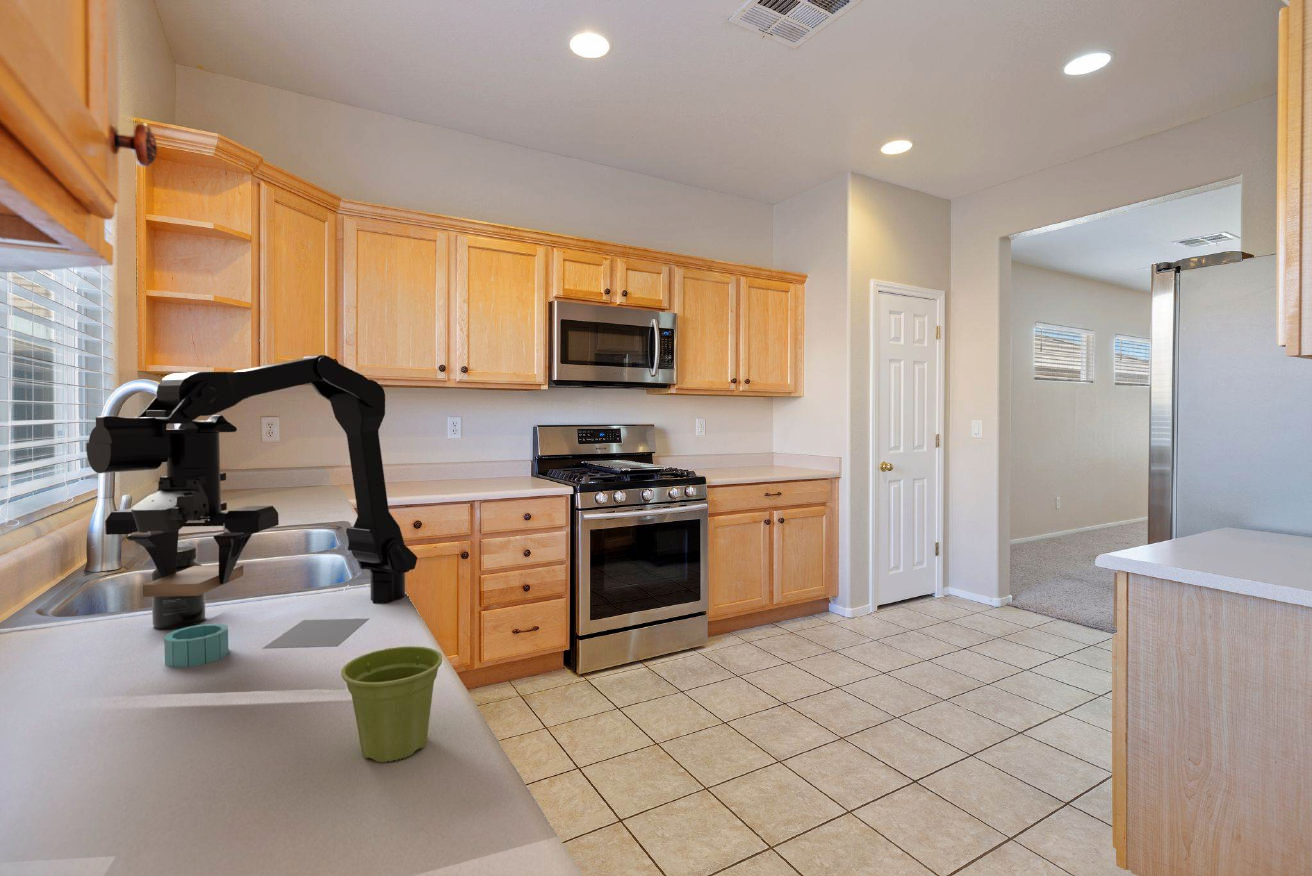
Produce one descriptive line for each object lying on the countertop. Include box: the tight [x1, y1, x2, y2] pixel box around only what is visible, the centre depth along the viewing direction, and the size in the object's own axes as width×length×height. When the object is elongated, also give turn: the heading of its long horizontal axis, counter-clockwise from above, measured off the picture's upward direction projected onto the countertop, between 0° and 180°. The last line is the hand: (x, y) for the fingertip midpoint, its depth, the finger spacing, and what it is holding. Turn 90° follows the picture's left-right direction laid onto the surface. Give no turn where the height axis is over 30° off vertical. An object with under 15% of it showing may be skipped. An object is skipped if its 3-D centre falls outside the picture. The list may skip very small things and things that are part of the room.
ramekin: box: [163, 623, 229, 668], centre depth 84 cm, size 7×7×4 cm
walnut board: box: [142, 564, 244, 598], centre depth 83 cm, size 10×6×2 cm, turn 5°
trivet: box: [262, 618, 369, 649], centre depth 93 cm, size 12×10×1 cm
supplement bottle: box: [150, 546, 206, 630], centre depth 101 cm, size 7×7×12 cm
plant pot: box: [340, 645, 443, 763], centre depth 63 cm, size 9×9×9 cm
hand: (196, 583), depth 83 cm, fingers closed on walnut board, 6 cm apart
